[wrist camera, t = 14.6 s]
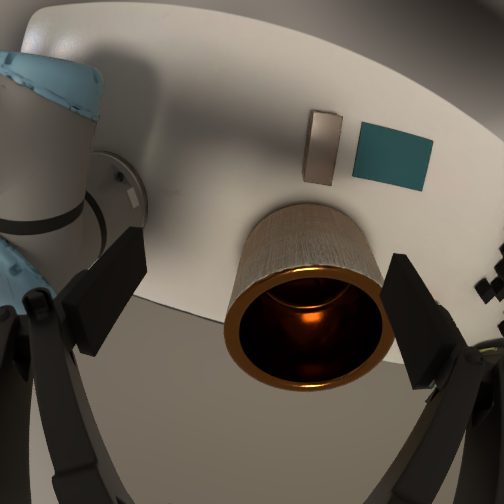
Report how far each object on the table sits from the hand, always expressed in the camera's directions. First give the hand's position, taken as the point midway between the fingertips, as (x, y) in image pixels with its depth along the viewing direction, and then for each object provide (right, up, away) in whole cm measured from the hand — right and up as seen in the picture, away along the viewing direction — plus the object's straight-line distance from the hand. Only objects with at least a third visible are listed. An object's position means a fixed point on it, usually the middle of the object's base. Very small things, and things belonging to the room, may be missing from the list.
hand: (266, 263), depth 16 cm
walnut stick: (+7, +14, +19) cm, 25 cm away
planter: (+7, -1, +27) cm, 28 cm away
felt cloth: (+17, +12, +19) cm, 28 cm away
